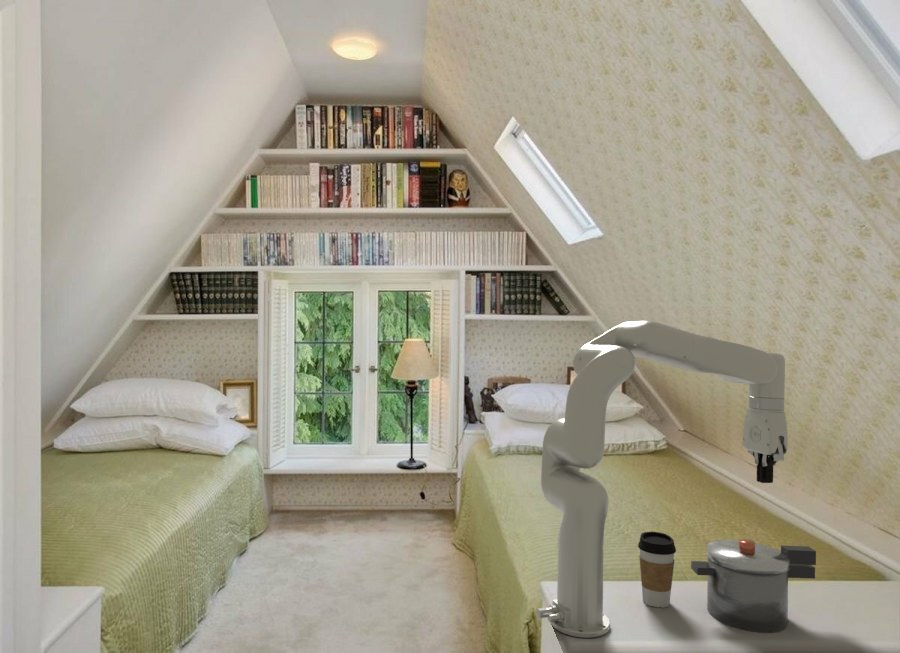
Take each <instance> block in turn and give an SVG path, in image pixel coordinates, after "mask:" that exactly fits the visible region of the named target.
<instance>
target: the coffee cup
mask: <svg viewBox="0 0 900 653" xmlns="http://www.w3.org/2000/svg"><path fill="white" fill-rule="evenodd" d="M637 548H638V549H639V556H638V557H639V566H640V569H639V570H640V579H641V580H640V581H641V594H642V601H643V603H644V602H645V603H644V604H646V605H647V604H648V606H650V605H651V606H650V607H653V606H654V608H659V607H662V608H667V607H669V606H670V603H671V596H672V594H671V593H672V584H673V576H674V566H675V559H674V557H675V554H676V552H677V547H676V546H675V540H674V539H673V537H671V536H670V535H668V534H667V533H664V532H660V531H644V532H642V533H640V537H639V541H638V544H637Z"/></svg>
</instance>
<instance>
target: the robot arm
mask: <svg viewBox="0 0 900 653" xmlns="http://www.w3.org/2000/svg"><path fill="white" fill-rule="evenodd" d="M635 358H636V359H638V358H641V359H645V360H650V361H652V362H656V363H661V364H664V365H668V366H671V367H674V368H678V369H681V370H685V371H689V372H695V373H700V374H701V373H702V374H714V375H717V376H718V378H720V379H721V380H722V381H723V380H724V382H729V383H735V384H746V385H748V408H746V410H745V414H744V415H745V416H744V419H743V426H742V427H743V428H742V447H743V448H744V449H745V450H747V453H749V454H750V455H752V456H753V458H754V463H755V465H756V482H758V483H762V484H772V483H773V482H774V467H776V463H777V462H783V461H785V456H784V455H785V454H787V451H788V446H789V444H788V442H789V441H788V439H789V438H788V437H789V436H788V425H787V418H786V413H785V387H786V386H785V384H786V382H785V381H786V380H785V379H786V378H785V376H786V359H785V356H784V355H783V354H781V353H778V352H777V353H776V352H767V351H764V350H762V349H759V348H755V347H751V346H748V345H745V344H741V343H740V344H739V343H736V342H731V341H726V340H723V339H718V338H715V337H709V336H706V335H701V334H696V333H694V332H689V331H687V330H683V329H680V328H677V327H673V326H671V325H668V324H664V323H661V322H657V321H653V320H652V321H651V320H638V321H637V320H634V321H624V322H622V323H620V324H618V325H616V326H614V327H611V329H609V330H607V331H605V332H603V334H601V335H599V336H597V337H595V338H594V339H592V340H591V341H589V342H587V343H585V344H583V345H582V346H581V347H580V348H579V349H578V350H577V351H576V353H575V354H574V357H573V359H572V360H573V361H572V362H573V363H572V364H573V366H572V367H573V369H574V372H575V374H576V376H575V378H573V381H572V382H571V384H570V387H569V389H568V391H567V396H566V397H567V398H566V404H565V411H564V418H559V419H556V420H555V421H553V422H552V423H551V424H550V425H549V426H548V427H547V429H546V431H545V433H544V436H543V441H542V450H541V451H542V453H541V476H540V477H541V478H540V484H541V492H542V495H543V498H545V501H546V502H547V503H548V504H550V505H551V506H552V507H553V508H555V509H556V510H559V511H560V512H561V513H562V520H561V522H560V525H559V530H558V537H557V586H556V587H557V588H556V589H557V591H556V593H557V597H556V599H553V600H552V604H550V605H549V606H548V607H541V608H539V607H538V608H536V610H535V611H536V612H535V614H536V618H538V619H539V620H541V619H546V618H547V620H548V622H550V625H551V626H552V627H553V628H554V629H555V630H557V631H558V632H560V633H563V634H565V635H568V636H571V637H575V638H583V639H584V638H585V639H586V638H591V639H592V638H598V637H602V636H603V635H606V634H607V633H608V632H609V631H610V629H611V621H610V619H609V617H608V616H607V615H606V614H604V612H603V611H604V606H603V605H604V540H605V539H604V538H605V527H606V520H607V516H608V510H609V495H608V492H607V490H606V488H605V487H604V485H603V484H602V483H601V482H600V481H599V480H597V479H596V478H595V477H593V476H592V475H589V474H586V473H584V472H582V471H581V469H586V470H589V469H593V468H596V467H597V466H599V465H600V463H601V462H602V460H603V458H604V453H605V441H606V440H605V438H606V417H607V416H606V415H607V407H608V402H609V400H610V398H611V396H612V395H613V393H614V391H615V390H616V389H617V388H618V387H619V386H621V385H622V384H623V383H625V382H626V381H627V380H628V379H629V378H630V377H631V376H632V375H633V373H634V369H635V365H636V360H635Z"/></svg>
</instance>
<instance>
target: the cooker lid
mask: <svg viewBox="0 0 900 653" xmlns="http://www.w3.org/2000/svg"><path fill="white" fill-rule="evenodd" d="M705 547H706V549H705V550H706V551H705V553H706V557H707V559H708V558H709V559H710V560H712V561H713V562H715V563H717V564H719V565H721V566H724V567H727V568H730V569H734V570H737V571H742V572H747V573H754V574H780V573H784V572H786V571H788V570H789V568H790V564H802V565H812V566H816V565H817V551H816V550H815V549H813V548H812V547H810V546H803V545H802V546H801V545H783V544H780V550H779V549H777V548H775V547H772V546H768V545H764V544H761V543H757V542H755V541H754V540H750V539H747V538H742V539H741V538H740V539H739V540H737V539H720V540H714V541H711V542H710V541H709V543H707V544H706V546H705Z"/></svg>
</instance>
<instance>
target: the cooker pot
mask: <svg viewBox="0 0 900 653" xmlns="http://www.w3.org/2000/svg"><path fill="white" fill-rule="evenodd" d="M690 568H691V570H692V571H693V572H694V573H695V574H696V575H697V576H707V579H706V580H707V581H706V583H707V588H706V589H707V590H706V591H707V596H706V597H707V598H706V599H707V600H706V608H707V611H708V612H707V613H709V615H710V616H712V617H713V618H714V619H715V618H716V620H717V619H718V620H717V621H719V622H721V623H722V622H723V623H722V624H725V625H727V626H730V627H733V628H735V629H740V630H744V631H748V632H753V633H764V634H765V633H767V634H768V633H778V632H782V631H783V630H785V629H786V628H788V626H789V624H788V623H789V622H788V621H789V619H788V618H789V617H788V616H789V610H788V608H789V579H816V567H815V566H814V565H802V564H790V568H789V570H788V571H786V572H784V573H780V574H754V573H747V572H742V571H737V570H734V569H730V568H727V567H724V566H721V565H719V564H717V563H715V562H713V561H712V560H710V559H709V558H708V557H707V561H703V560H701V561H700V560H698V561H697V560H690Z"/></svg>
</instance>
